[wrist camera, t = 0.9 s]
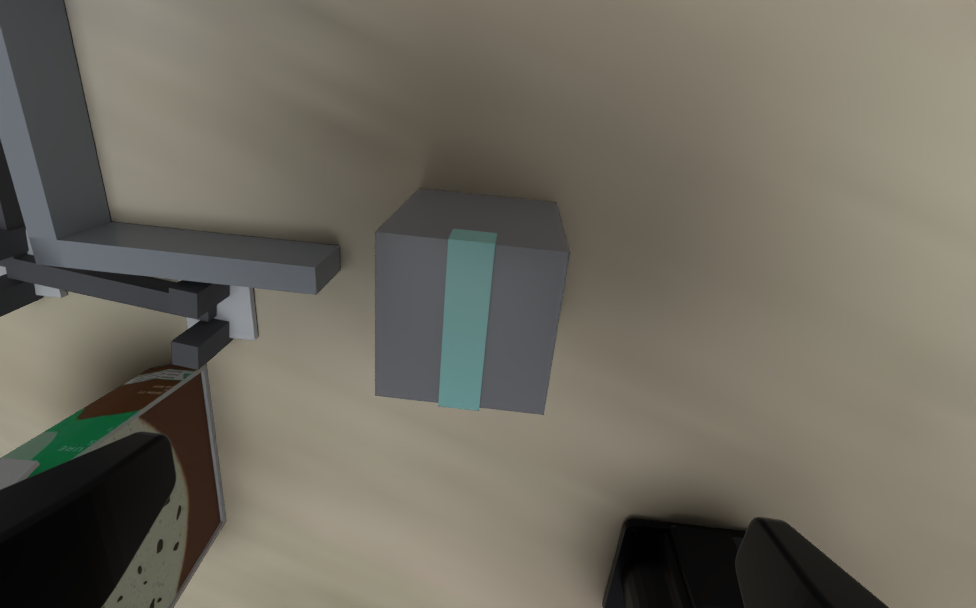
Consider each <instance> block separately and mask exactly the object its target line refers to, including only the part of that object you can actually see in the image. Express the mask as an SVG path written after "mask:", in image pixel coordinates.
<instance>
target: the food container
mask: <svg viewBox="0 0 976 608" xmlns="http://www.w3.org/2000/svg"><path fill="white" fill-rule="evenodd" d="M144 431H145V432H152V433H159V434H164V435H166V436H168V438H169V439H170V441H171V446H172V452H173V458H174V464H175V469H176V483H175V487H174V489H173V491H172V493H171V495H170V497H169V499H168V500H167V502H166V504H165V505H164V507H163V509H162V511H161V512H160V514H159V516H158V517H157V519H156V521H155V522H154V524H153V526H152V528H151V529H150V531H149V533H148V534H147V536H146V538H145V539H144V541H143V543H142V545H141V546H140V548H139V550H138V551H137V553H136V555H135V557H134V558H133V560H132V562H131V563H130V565H129V567H128V568H127V570H126V572H125V573H124V575H123V577H122V578H121V580H120V581H119V583H118V585H117V586H116V588H115V589H114V591H113V592H112V594H111V595H110V597H109V598H108V599H107V601H106V602H105V604H104V605H103V607H102V608H174V606H175V604H176V603H177V601H178V599H179V598H180V596H181V594H182V593H183V591H184V590H185V588H186V586H187V585H188V583H189V581H190V580H191V578H192V576H193V575H194V573H195V572H196V570H197V568H198V567H199V565H200V563H201V562H202V560H203V558H204V557H205V555H206V553H207V552H208V550H209V549H210V547H211V545H212V544H213V542H214V540H215V539H216V537H217V535H218V534H219V532H220V531H221V529H222V527H223V526H224V524H225V522H226V515H225V507H224V499H223V491H222V483H221V476H220V468H219V460H218V452H217V444H216V436H215V428H214V420H213V412H212V404H211V396H210V388H209V380H208V372H207V364H205V365H203V366H202V367H201V368H200V369H199V370H196V369H192V368H187V367H183V366H178V365H173V364H168V365H163V366H158V367H153V368H150V369H148V370H146V371H145V372H143V373H141V374H140V375H138V376H136V377H135V378H133V379H131V380H130V381H128V382H126V383H125V384H123V385H121V386H120V387H118V388H116V389H115V390H113V391H111V392H110V393H108V394H106V395H105V396H103V397H101V398H100V399H98V400H96V401H95V402H93V403H91V404H90V405H88V406H86V407H85V408H83V409H81V410H80V411H78V412H76V413H75V414H73V415H71V416H70V417H68V418H66V419H65V420H63V421H61V422H60V423H58V424H56V425H55V426H53V427H51V428H50V429H48V430H46V431H45V432H43V433H41V434H40V435H38V436H36V437H35V438H33V439H31V440H30V441H28V442H26V443H25V444H23V445H21V446H20V447H18V448H17V449H15V450H13V451H12V452H10V453H8V454H7V455H5V456H3V457H2V458H0V489H3V488H5V487H7V486H10V485H12V484H15V483H17V482H19V481H22V480H24V479H26V478H29V477H31V476H34V475H36V474H38V473H41V472H43V471H45V470H48V469H50V468H53V467H55V466H57V465H60V464H62V463H64V462H67V461H69V460H72V459H74V458H76V457H79V456H81V455H83V454H86V453H88V452H91V451H93V450H95V449H98V448H100V447H102V446H105V445H107V444H110V443H112V442H114V441H117V440H119V439H121V438H124V437H126V436H129V435H131V434H133V433H136V432H144Z"/></svg>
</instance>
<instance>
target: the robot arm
mask: <svg viewBox="0 0 976 608" xmlns="http://www.w3.org/2000/svg"><path fill="white" fill-rule="evenodd" d="M175 483H176V469H175V464H174V458H173V452H172V446H171V441H170V439H169V438H168V436H166V435H164V434H159V433H152V432H145V431H144V432H136V433H133V434H131V435H129V436H126V437H124V438H121V439H119V440H117V441H114V442H112V443H110V444H107V445H105V446H102V447H100V448H98V449H95V450H93V451H91V452H88V453H86V454H83V455H81V456H79V457H76V458H74V459H72V460H69V461H67V462H64V463H62V464H60V465H57V466H55V467H53V468H50V469H48V470H45V471H43V472H41V473H38V474H36V475H34V476H31V477H29V478H26V479H24V480H22V481H19V482H17V483H15V484H12V485H10V486H7V487H5V488H3V489H0V608H102V607H103V605H104V604H105V602H106V601H107V599H108V598H109V597H110V595H111V594H112V592H113V591H114V589H115V588H116V586H117V585H118V583H119V581H120V580H121V578H122V577H123V575H124V573H125V572H126V570H127V568H128V567H129V565H130V563H131V562H132V560H133V558H134V557H135V555H136V553H137V551H138V550H139V548H140V546H141V545H142V543H143V541H144V539H145V538H146V536H147V534H148V533H149V531H150V529H151V528H152V526H153V524H154V522H155V521H156V519H157V517H158V516H159V514H160V512H161V511H162V509H163V507H164V505H165V504H166V502H167V500H168V499H169V497H170V495H171V493H172V491H173V489H174V487H175ZM635 529H637V530H635ZM633 530H634V531H633ZM602 606H603V608H889V607H888V606H886V605H885V604H884V603H883V602H882V601H880V600H879V599H878V598H877V597H876V596H874V595H873V594H872V593H871V592H869V591H868V590H867V589H866V588H865V587H863V586H862V585H861V584H860V583H859V582H857V581H856V580H855V579H854V578H853V577H851V576H850V575H849V574H848V573H847V572H845V571H844V570H843V569H842V568H841V567H839V566H838V565H837V564H836V563H835V562H833V561H832V560H831V559H830V558H829V557H827V556H826V555H825V554H824V553H823V552H821V551H820V550H819V549H818V548H817V547H815V546H814V545H813V544H812V543H810V542H809V541H808V540H807V539H806V538H804V537H803V536H802V535H801V534H800V533H798V532H797V531H796V530H795V529H794V528H792V527H791V526H790V525H789V524H787V523H786V522H784V521H782V520H778V519H771V518H763V517H756V518H754V519H753V520H752V521H751V522H750V524H749V526H748V529H747V531H746V532H745V531H737V530H728V529H720V528H711V527H703V526H694V525H686V524H677V523H669V522H660V521H652V520H643V519H630V520H627V521H626V522H625V523H624V525H623V528H622V532H621V536H620V540H619V543H618V547H617V551H616V555H615V559H614V562H613V566H612V570H611V574H610V577H609V581H608V585H607V589H606V592H605V596H604V600H603V604H602Z"/></svg>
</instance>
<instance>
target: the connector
mask: <svg viewBox="0 0 976 608" xmlns="http://www.w3.org/2000/svg"><path fill="white" fill-rule="evenodd" d="M569 254H570V252H569V248H568V244H567V240H566V237H565V233H564V229H563V225H562V222H561V218H560V214H559V210H558V206H557V203H556V202H548V201H538V200H528V199H519V198H509V197H499V196H489V195H480V194H470V193H460V192H450V191H441V190H431V189H421V188H419V189H418V190H417V191H416V192H415V193H414V194H413V195H412V196H411V197H410V198H409V199H408V200H407V201H406V202H405V203H404V204H403V205H402V206H401V207H400V208H399V209H398V210H397V211H396V212H395V213H394V214H393V215H392V216H391V217H390V218H389V219H388V220H387V221H386V222H385V223H384V224H383V225H382V226H381V227H380V228H379V229H378V230H377V231H376V232H375V396H383V397H392V398H400V399H409V400H418V401H427V402H436V403H438V406H441V407H449V408H458V409H467V410H476V411H479V407H480V408H489V409H497V410H506V411H515V412H524V413H533V414H541V415H544V410H545V403H546V397H547V391H548V385H549V378H550V372H551V366H552V360H553V354H554V347H555V341H556V335H557V329H558V322H559V316H560V310H561V304H562V298H563V291H564V285H565V279H566V273H567V266H568V260H569Z"/></svg>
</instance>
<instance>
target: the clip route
mask: <svg viewBox="0 0 976 608" xmlns="http://www.w3.org/2000/svg"><path fill="white" fill-rule="evenodd" d="M66 291H70V292H74V293H79V294H83V295H88V296H92V297H97V298H102V299H106V300H111V301H115V302H120V303H124V304H129V305H133V306H138V307H142V308H147V309H151V310H156V311H161V312H165V313H170V314H174V315H179V316H183V317H186V320H187V325H188V329H187V330H186V331H185V332H183V333H182V334H181V335H179V336H178V337H177V338H175V339H174V340H172V341H171V349H172V364H173V365H178V366H183V367H187V368H192V369H196V370H199V369H200V368H201V367H202V366H203V365H205V364H206V363H207V362H208V361H209V360H210V359H211V358H213V357H214V356H215V355H216V354H217V353H218V352H219V351H221V350H222V349H223V348H224V347H225V346H226V345H227V344H229V343H230V342H231V341H232V340H233V338H238V339H247V340H256V339H257V338H258V330H257V321H256V311H255V302H254V293H253V288H250V287H241V286H232V285H223V284H213V283H204V282H195V281H186V280H180V282H178V283H173V282H168V281H164V280H159V279H155V278H150V277H146V276H139V275H130V274H121V273H112V272H102V271H93V270H84V269H75V268H65V267H56V266H47V265H38V264H36V261H35V258H34V254H33V251H32V247H31V244H30V240H29V237H28V233H27V230H26V226H25V223H24V219H23V216H22V212H21V209H20V205H19V202H18V198H17V195H16V191H15V188H14V184H13V181H12V178H11V174H10V171H9V167H8V164H7V160H6V157H5V153H4V150H3V146H2V143H1V139H0V317H1V316H3V315H5V314H8V313H10V312H12V311H14V310H17V309H19V308H21V307H23V306H26V305H28V304H30V303H32V302H35V301H37V300H39V299H41V298H43V296H50V297H59V298H62V297H64V296H66V295H67V292H66Z"/></svg>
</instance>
